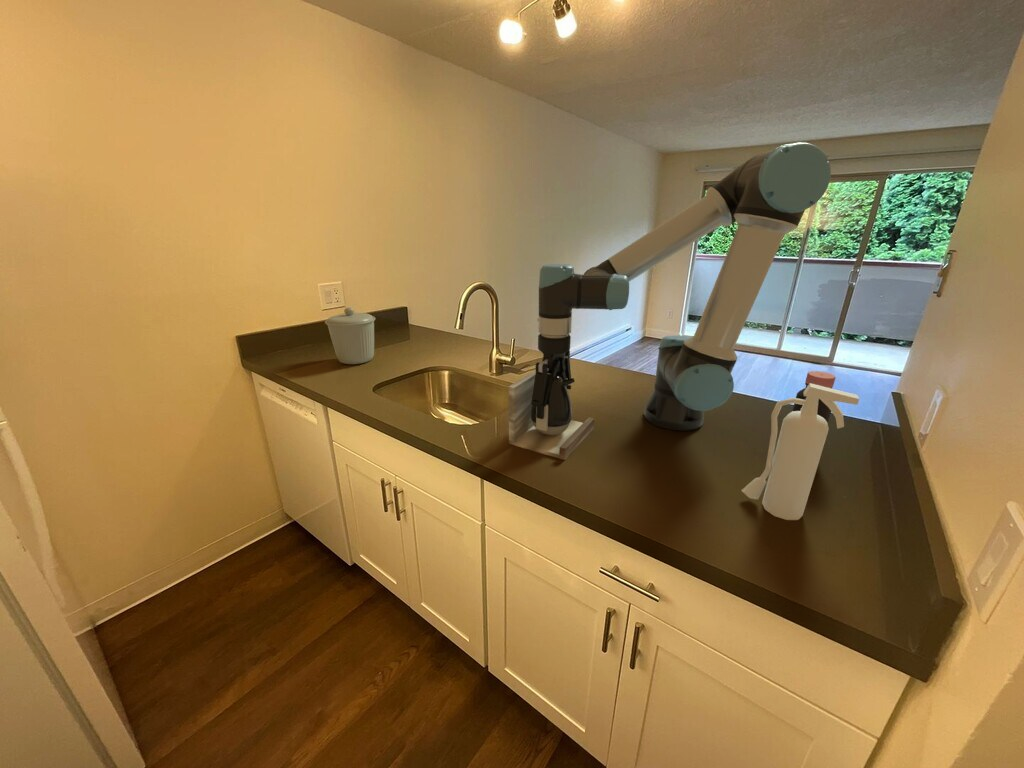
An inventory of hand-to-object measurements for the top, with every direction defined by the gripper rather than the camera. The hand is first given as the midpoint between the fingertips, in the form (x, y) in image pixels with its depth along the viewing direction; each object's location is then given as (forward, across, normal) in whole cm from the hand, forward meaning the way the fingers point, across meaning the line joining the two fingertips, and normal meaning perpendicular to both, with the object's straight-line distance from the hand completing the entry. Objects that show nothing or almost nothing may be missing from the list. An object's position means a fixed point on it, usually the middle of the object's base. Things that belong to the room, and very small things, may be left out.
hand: (551, 420), depth 104 cm
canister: (+4, -17, -94) cm, 95 cm away
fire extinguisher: (+4, +4, +49) cm, 50 cm away
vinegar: (+5, -20, +53) cm, 57 cm away
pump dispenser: (+3, 0, 0) cm, 3 cm away
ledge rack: (+4, 0, 0) cm, 4 cm away
